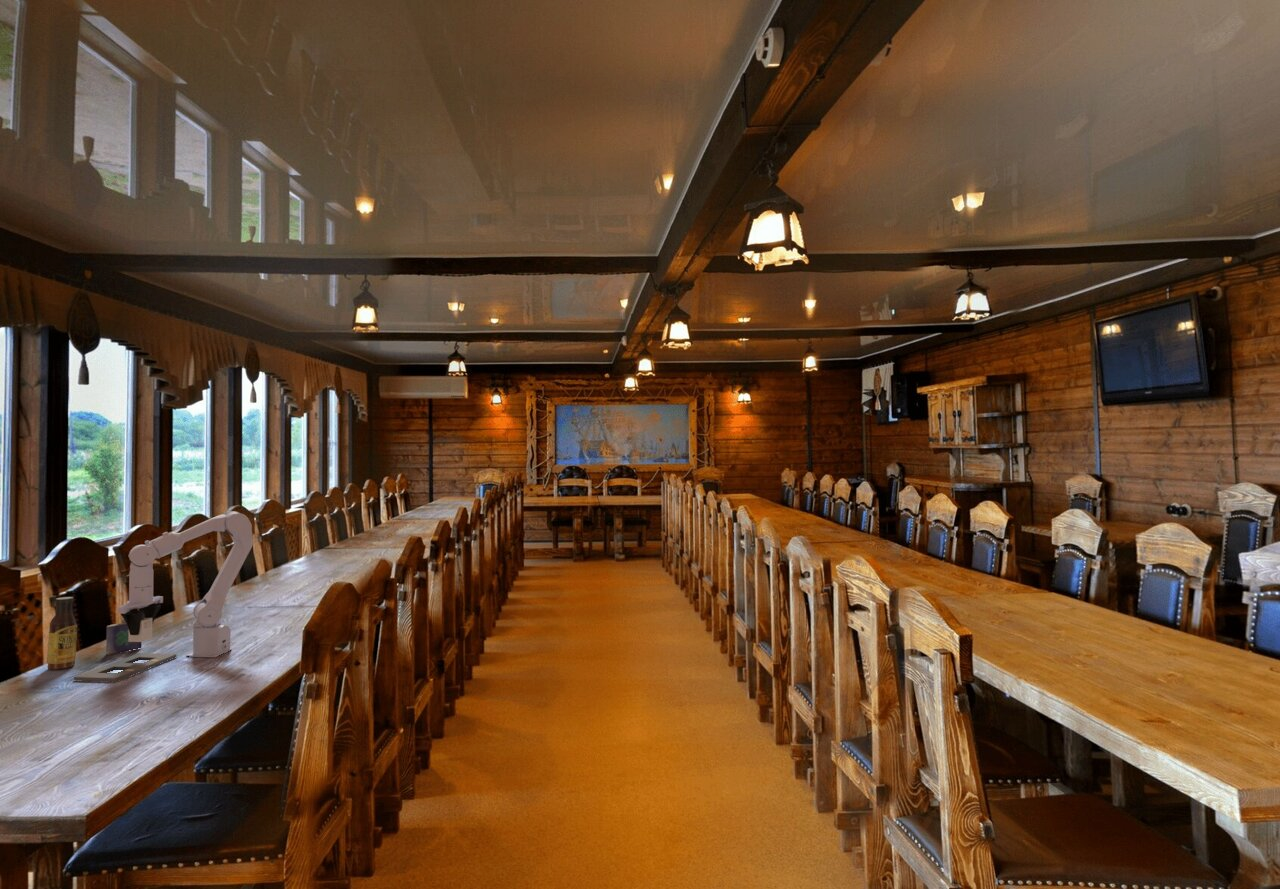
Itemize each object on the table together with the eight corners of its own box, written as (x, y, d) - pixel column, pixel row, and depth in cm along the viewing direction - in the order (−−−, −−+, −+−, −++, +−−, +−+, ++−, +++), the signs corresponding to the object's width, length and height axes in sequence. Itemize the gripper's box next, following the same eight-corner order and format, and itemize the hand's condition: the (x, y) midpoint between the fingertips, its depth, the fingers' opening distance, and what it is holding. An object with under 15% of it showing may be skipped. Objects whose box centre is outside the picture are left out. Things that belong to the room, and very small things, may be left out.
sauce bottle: (59, 671, 194) (60, 601, 194) (41, 670, 195) (42, 600, 195) (82, 664, 200) (83, 596, 200) (64, 663, 201) (65, 595, 202)
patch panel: (176, 658, 207) (176, 653, 207) (115, 682, 185) (115, 677, 185) (138, 657, 208) (138, 652, 208) (73, 681, 186) (73, 676, 186)
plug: (154, 638, 203) (154, 613, 203) (143, 642, 199) (143, 616, 199) (139, 637, 203) (139, 612, 203) (128, 641, 199) (128, 616, 199)
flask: (107, 656, 208) (108, 620, 209) (104, 654, 210) (104, 619, 210) (143, 649, 216) (143, 614, 216) (139, 647, 218) (139, 613, 218)
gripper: (147, 581, 208) (147, 626, 208) (107, 590, 194) (106, 639, 194) (169, 581, 208) (169, 626, 208) (131, 591, 193) (130, 639, 193)
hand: (140, 632), depth 201 cm, fingers closed on plug, 4 cm apart
